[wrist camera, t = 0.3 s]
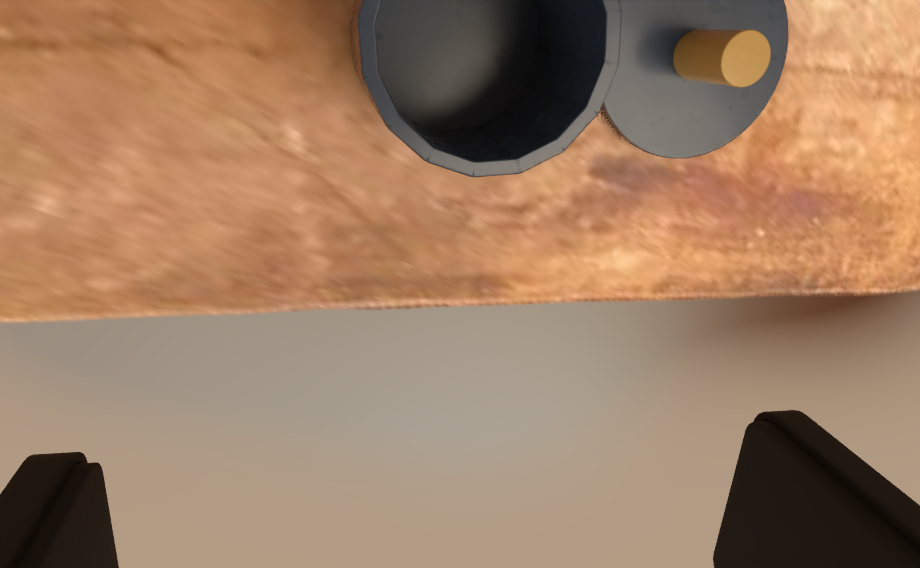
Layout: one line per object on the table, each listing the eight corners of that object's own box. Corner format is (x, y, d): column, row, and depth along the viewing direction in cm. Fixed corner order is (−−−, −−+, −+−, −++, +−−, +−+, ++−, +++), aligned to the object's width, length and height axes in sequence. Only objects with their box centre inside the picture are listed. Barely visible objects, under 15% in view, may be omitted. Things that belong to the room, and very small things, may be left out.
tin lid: (700, -111, 35) (770, -137, 29) (811, 48, 39) (891, 51, 34) (549, 61, 37) (588, 67, 31) (672, 193, 41) (726, 219, 36)
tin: (444, -125, 32) (491, -186, 23) (584, 33, 37) (670, 35, 27) (308, 45, 34) (301, 51, 25) (456, 178, 38) (497, 225, 29)
